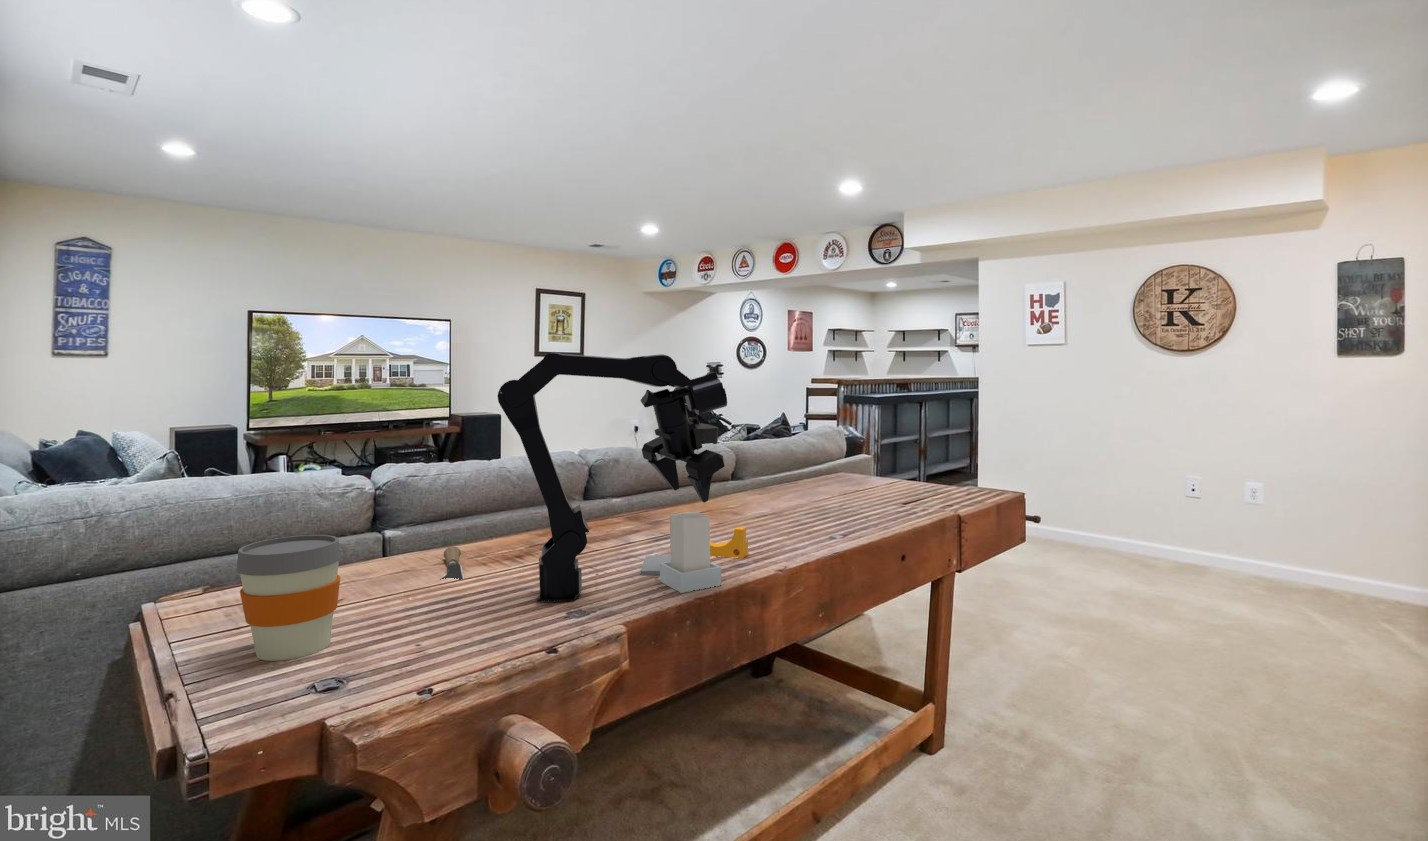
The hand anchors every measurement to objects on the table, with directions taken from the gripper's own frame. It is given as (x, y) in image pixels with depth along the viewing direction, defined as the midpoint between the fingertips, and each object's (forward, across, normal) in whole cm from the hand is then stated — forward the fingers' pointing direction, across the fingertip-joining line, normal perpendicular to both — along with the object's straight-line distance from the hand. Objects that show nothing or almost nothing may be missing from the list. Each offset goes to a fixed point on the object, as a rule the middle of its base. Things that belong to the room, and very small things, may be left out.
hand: (690, 495), depth 126 cm
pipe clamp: (+22, +8, -9) cm, 25 cm away
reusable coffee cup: (-6, +8, +66) cm, 67 cm away
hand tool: (+8, +32, +40) cm, 52 cm away
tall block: (+14, -5, +8) cm, 17 cm away
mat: (+17, +7, +4) cm, 19 cm away
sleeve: (+14, -5, +8) cm, 16 cm away
